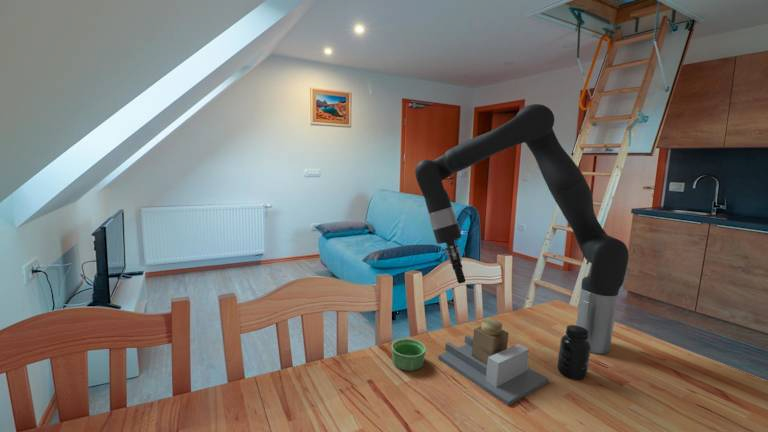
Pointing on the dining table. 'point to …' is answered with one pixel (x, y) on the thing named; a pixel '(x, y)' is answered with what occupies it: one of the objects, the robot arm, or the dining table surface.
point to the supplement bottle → (574, 353)
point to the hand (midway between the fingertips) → (461, 282)
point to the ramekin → (408, 354)
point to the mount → (496, 370)
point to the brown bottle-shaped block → (489, 340)
